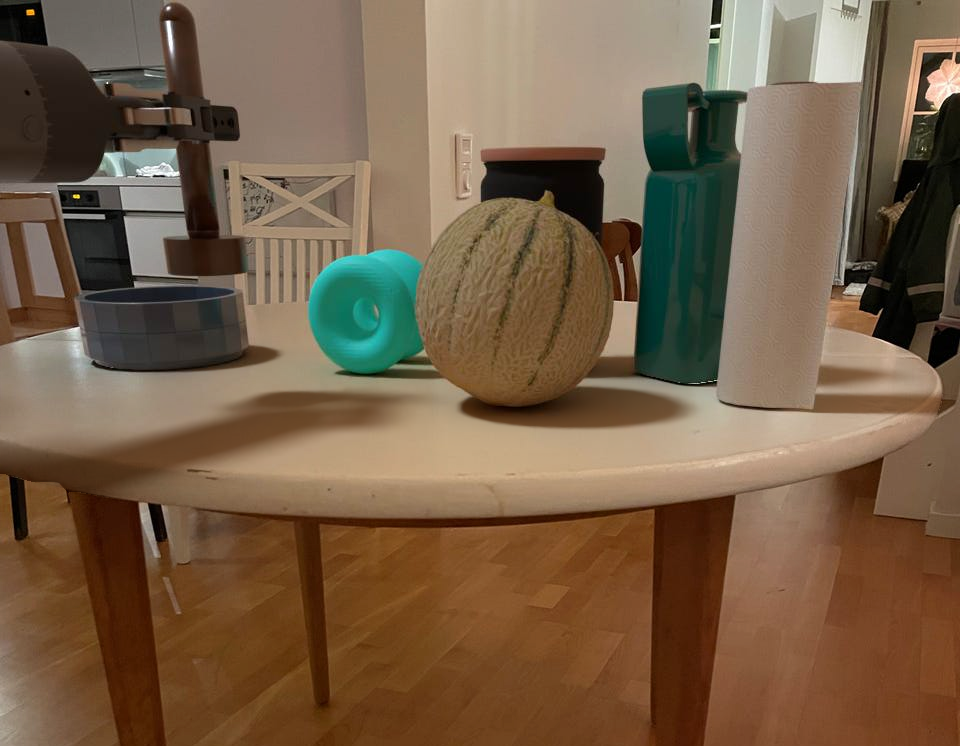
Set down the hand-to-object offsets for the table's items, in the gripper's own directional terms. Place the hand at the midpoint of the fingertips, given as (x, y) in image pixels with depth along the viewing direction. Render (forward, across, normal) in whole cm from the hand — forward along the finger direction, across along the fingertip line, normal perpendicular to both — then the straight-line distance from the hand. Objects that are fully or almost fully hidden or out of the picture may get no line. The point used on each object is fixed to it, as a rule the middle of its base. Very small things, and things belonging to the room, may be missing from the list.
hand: (220, 124), depth 68 cm
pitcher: (+25, -28, +20) cm, 43 cm away
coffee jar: (+22, -15, +20) cm, 33 cm away
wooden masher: (-3, 0, +10) cm, 10 cm away
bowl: (+8, +19, +20) cm, 29 cm away
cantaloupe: (+7, -22, +20) cm, 30 cm away
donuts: (+14, -2, +20) cm, 25 cm away
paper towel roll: (+18, -37, +19) cm, 46 cm away
